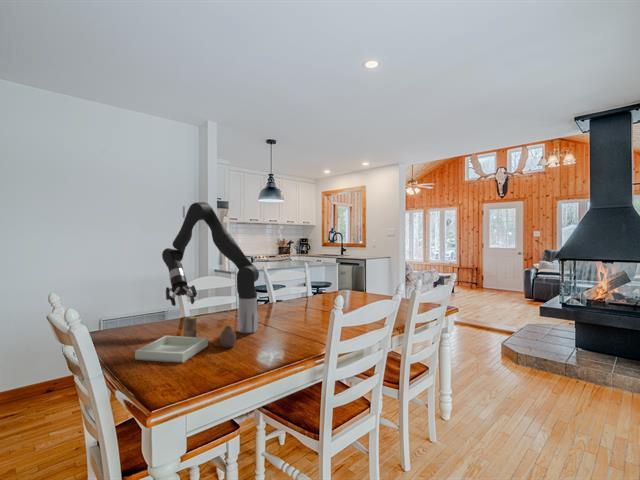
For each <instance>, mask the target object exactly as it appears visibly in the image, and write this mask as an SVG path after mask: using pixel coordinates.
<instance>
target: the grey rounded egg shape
mask: <svg viewBox="0 0 640 480" xmlns="http://www.w3.org/2000/svg"><path fill="white" fill-rule="evenodd" d="M236 341H237V335H236V332H235V330H234V329H233V328H232V326H231V325H226V326H225V327H224V329H223V330H222V332H221V333H220V336H219V343H220V345H221V347H223V348H226V349H229V348H232V347H233V346H234V345H235V344H236Z"/></svg>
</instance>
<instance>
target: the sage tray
mask: <svg viewBox="0 0 640 480" xmlns="http://www.w3.org/2000/svg"><path fill="white" fill-rule="evenodd" d="M208 341H209V338H208V337H197V336H196V337H183V336H178V335H176V336H175V335H164V336H163V337H160V338H158V339H156V340H154V341H152V342H150V343H148V344H146V345H144V346H141V347H139V348H138V349H136V350H134V353H135V354H134V360H137V361H150V362H152V361H153V362H163V363H164V362H165V363H166V362H167V363H180V364H182V363H185V362H186V361H188V360H190V359H191V358H192V357H194V356H195V355H196V354H199V352H201V351H203V350H204V349H205V348H207V347H209V345H208V344H209V342H208Z"/></svg>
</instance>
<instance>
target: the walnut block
mask: <svg viewBox="0 0 640 480" xmlns="http://www.w3.org/2000/svg"><path fill="white" fill-rule="evenodd" d="M182 320H183V322H182V323H183V325H182V326H183V327H182V328H183V330H182V332H183V336H182V337H197V317H196V316H194V315H191V316H185V317H183V319H182Z"/></svg>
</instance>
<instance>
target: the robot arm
mask: <svg viewBox="0 0 640 480" xmlns="http://www.w3.org/2000/svg"><path fill="white" fill-rule="evenodd" d="M199 221H203V222H204V223H206V225H207V226H208V228H209V229H210V231H211V232H210V233H211V237H212V241H213V244H214V246H216V248H217V249H218V251H219V252H220V253H221V254H222V255H223V256H224V257H225V258H226V259H228V260H229V261H230V262H232V263H233V264H234V265H235V267H236V268H237V269H238V270H237V273H236V291H237V294H238V296H237V297H238V299H237V301H238V302H237V303H238V304H237V305H238V313H237V315H238V316H237V317H238V318H237V319H238V320H237V324H238V325H237V326H238V327H237V328H238V329H237V332H239V334H240V333H241V334H254V333H256V332H257V331H258V330H259V311H257V309H258V304H257V303H258V293H257V291H256V289H255V288H256V287H255V283H256V282H257V281H258V280H259V278H260V272H259V270H258V268H257V266H255V265H254V264H253V262H251V260H249V258H248V257H247V256H246V254H245V253H244V252H243V251H242V249H241V248H240V246H239V245H238V244H237V242H236V240H235V239H234V237H233V236H232V235H231V234H230V233H229V231H228V230H227V229H226V227H225V226H224V224H223V223H222V221H221V220H220V219H219V217H218V215H217V213H216V211H215V210H214V209H213V207H212V206H211V205H210V203H208V202H199V201H198V202H193V203H192V204H190V206H189V208H188V209H187V212H186V214H185V218H184V220H183V222H182V226H181V227H180V230H179V232H178V233H177V235H176V236H175V238H174V240H172V241H173V242H172V245H171V246H172V247H173V248H171V247H170V248H168V247H167V248H165V249H164V250H163V251H162V252H161V253H162V254H161V258H162V261H163V263H164V264H165V265H166V267H167V269H168V272H169V281H170V286H171V287H167V286H166V288H165V297H166V298H165V300H166V301H168V300H170V303H171V306H173V307H175V306H176V304H177V303H176V299H175V298H176V297H178V296H180V297H181V296H186V297H188V298H189V300H190V304H191V305H194V303H195V298H196V297H197V295H198V292H197V290H196V286H195V285H193V284H192V285H191V286H189V285H188V281H187V278H186V273H185V271H184V268H183V264H182V261H183V258H184V254H185V250H186V247H187V246H188V245H189V243H190V241H191V240H192V237H193V236H192V235H193V228H194V227H195V225H196V224H197V223H198V222H199ZM171 292H172V293H173V294H172V295H170V294H171Z"/></svg>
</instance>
